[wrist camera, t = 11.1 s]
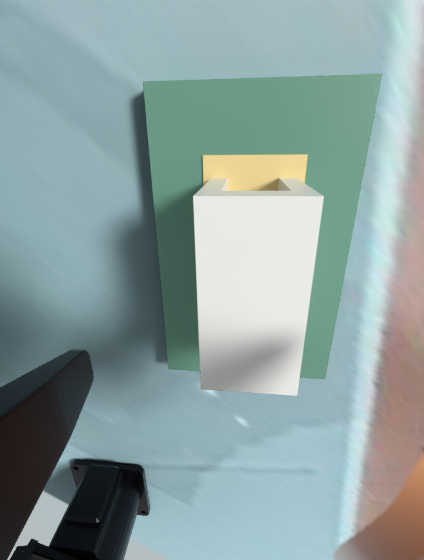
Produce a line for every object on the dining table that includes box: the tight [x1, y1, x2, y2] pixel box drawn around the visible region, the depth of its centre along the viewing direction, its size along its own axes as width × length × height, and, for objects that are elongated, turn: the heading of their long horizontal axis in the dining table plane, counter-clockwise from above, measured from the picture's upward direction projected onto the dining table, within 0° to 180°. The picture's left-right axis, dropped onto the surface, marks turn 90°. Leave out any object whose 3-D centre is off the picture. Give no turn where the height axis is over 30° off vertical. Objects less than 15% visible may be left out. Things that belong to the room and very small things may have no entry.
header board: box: [143, 74, 382, 379], centre depth 16 cm, size 16×10×3 cm, turn 0°
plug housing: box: [193, 178, 324, 396], centre depth 13 cm, size 8×4×6 cm, turn 1°
